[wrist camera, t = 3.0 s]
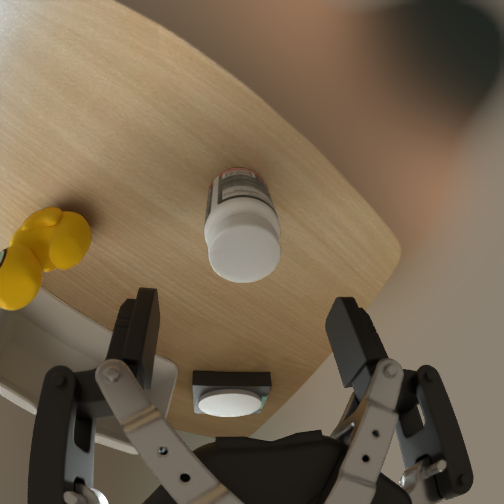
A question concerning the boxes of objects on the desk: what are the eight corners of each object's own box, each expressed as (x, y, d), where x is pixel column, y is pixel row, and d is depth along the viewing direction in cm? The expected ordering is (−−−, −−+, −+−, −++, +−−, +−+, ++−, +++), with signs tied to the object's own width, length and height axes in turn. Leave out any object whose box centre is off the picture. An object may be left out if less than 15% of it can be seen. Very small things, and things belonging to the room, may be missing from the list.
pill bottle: (239, 230, 24) (246, 300, 18) (196, 197, 22) (184, 261, 15) (279, 192, 23) (305, 253, 16) (236, 154, 20) (243, 202, 14)
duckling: (31, 257, 24) (-11, 325, 16) (10, 216, 21) (-44, 279, 12) (112, 239, 24) (72, 323, 16) (91, 187, 20) (30, 259, 12)
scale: (269, 372, 39) (272, 391, 36) (258, 402, 45) (259, 417, 42) (193, 370, 37) (192, 390, 34) (194, 401, 43) (194, 417, 41)
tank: (5, 325, 30) (-22, 389, 20) (17, 268, 24) (-31, 351, 14) (131, 395, 42) (123, 459, 32) (180, 365, 36) (176, 450, 26)
